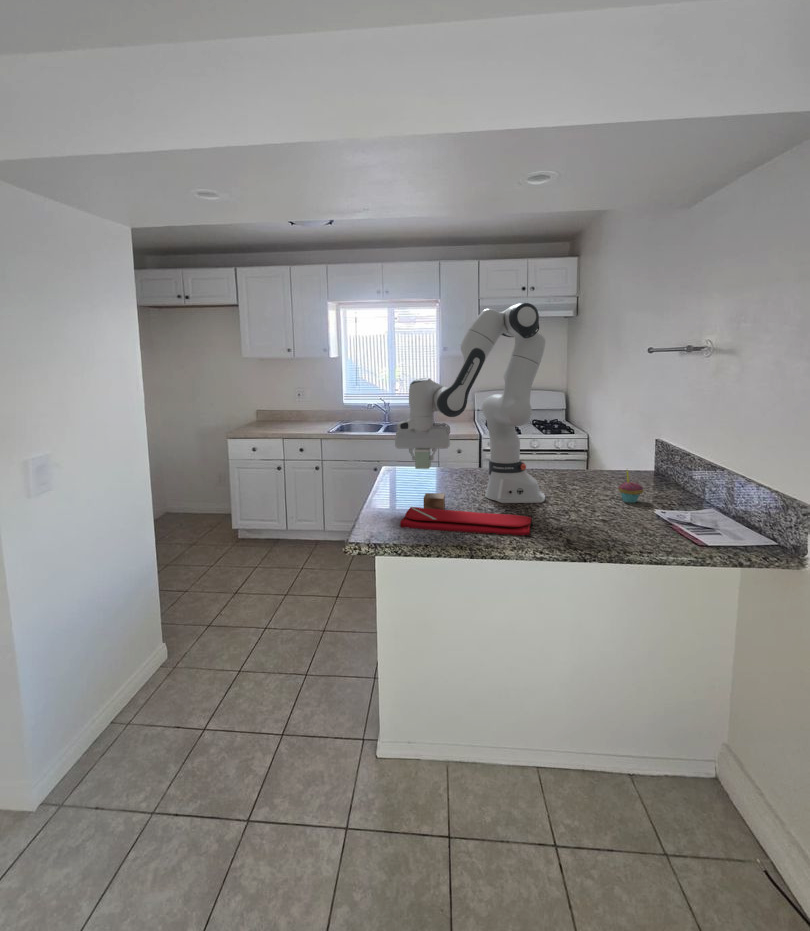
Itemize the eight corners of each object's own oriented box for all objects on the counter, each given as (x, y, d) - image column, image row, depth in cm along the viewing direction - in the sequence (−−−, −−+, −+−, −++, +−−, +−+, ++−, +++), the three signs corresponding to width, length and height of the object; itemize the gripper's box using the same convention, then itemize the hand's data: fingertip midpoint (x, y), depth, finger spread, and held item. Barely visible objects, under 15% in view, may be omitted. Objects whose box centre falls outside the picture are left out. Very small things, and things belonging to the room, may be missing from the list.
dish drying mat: (529, 538, 169) (530, 526, 168) (399, 529, 179) (399, 518, 178) (531, 522, 184) (531, 511, 183) (411, 515, 194) (411, 504, 193)
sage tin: (431, 465, 208) (430, 447, 207) (429, 468, 203) (428, 449, 202) (417, 465, 209) (416, 447, 208) (415, 468, 204) (414, 449, 203)
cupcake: (614, 501, 205) (616, 469, 202) (623, 496, 211) (625, 465, 209) (637, 505, 199) (639, 472, 197) (646, 500, 205) (648, 468, 203)
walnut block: (444, 506, 202) (444, 493, 201) (443, 512, 195) (443, 498, 194) (425, 506, 203) (425, 493, 202) (423, 511, 196) (423, 498, 195)
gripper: (451, 421, 204) (451, 458, 207) (396, 422, 208) (398, 458, 211) (448, 424, 198) (449, 462, 201) (393, 424, 202) (394, 461, 205)
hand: (423, 460), depth 206 cm, fingers closed on sage tin, 5 cm apart
